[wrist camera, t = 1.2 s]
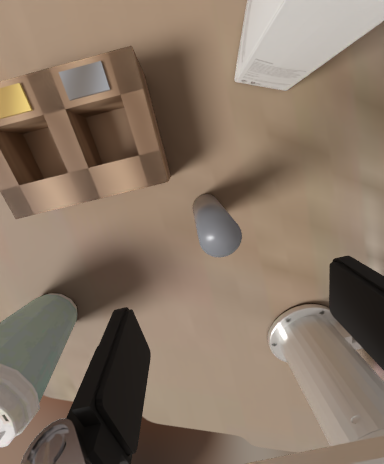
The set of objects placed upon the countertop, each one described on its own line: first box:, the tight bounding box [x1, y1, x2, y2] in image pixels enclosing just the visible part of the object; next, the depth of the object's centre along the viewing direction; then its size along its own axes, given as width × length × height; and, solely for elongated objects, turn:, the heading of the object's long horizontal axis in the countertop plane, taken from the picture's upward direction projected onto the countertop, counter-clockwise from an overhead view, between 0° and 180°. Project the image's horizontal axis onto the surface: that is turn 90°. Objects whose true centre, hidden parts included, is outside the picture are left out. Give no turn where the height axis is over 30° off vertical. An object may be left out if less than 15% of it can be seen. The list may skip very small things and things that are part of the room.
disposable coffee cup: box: [0, 293, 77, 447], centre depth 25 cm, size 11×11×15 cm
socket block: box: [0, 46, 171, 219], centre depth 21 cm, size 16×11×6 cm
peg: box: [193, 194, 242, 257], centre depth 22 cm, size 4×4×11 cm
